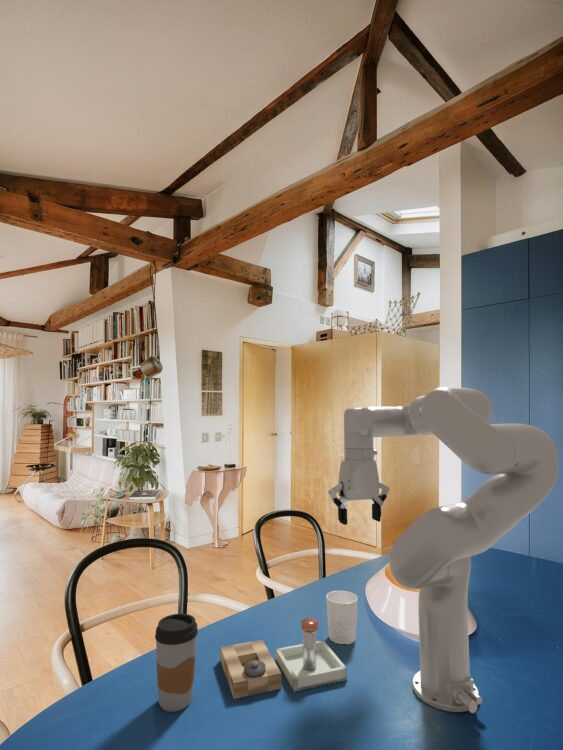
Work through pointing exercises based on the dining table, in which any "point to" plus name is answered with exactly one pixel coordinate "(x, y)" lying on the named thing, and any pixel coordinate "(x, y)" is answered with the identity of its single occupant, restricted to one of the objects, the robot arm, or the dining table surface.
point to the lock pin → (309, 643)
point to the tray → (301, 679)
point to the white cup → (342, 616)
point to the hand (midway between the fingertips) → (359, 521)
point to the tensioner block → (249, 668)
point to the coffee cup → (175, 660)
